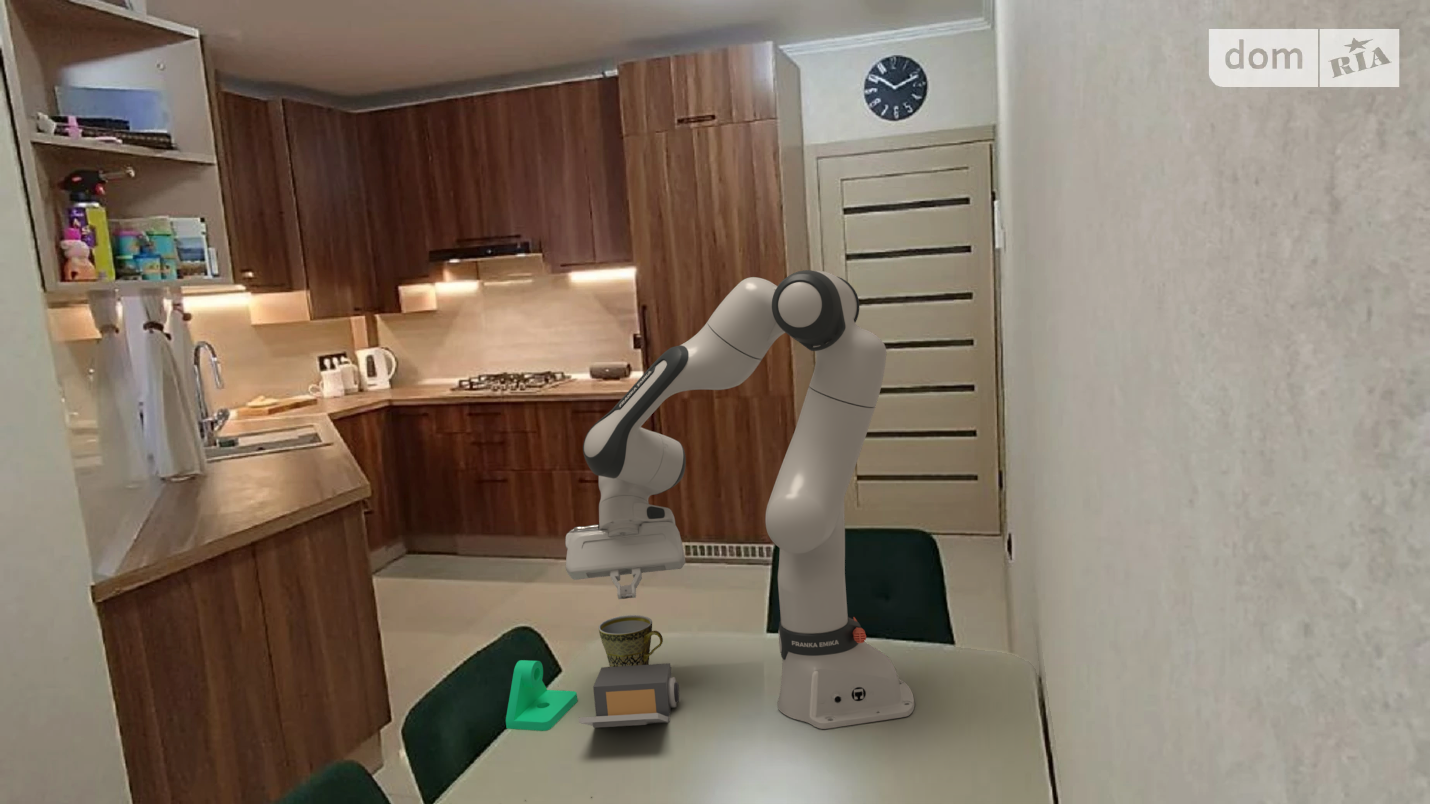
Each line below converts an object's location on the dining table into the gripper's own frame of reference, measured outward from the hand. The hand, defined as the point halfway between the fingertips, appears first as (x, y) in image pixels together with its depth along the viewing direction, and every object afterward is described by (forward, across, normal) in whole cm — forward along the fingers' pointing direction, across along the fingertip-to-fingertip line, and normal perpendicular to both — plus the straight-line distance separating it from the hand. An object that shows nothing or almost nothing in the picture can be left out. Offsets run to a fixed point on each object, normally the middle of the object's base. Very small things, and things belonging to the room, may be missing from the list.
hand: (626, 597), depth 153 cm
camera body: (+16, -1, +13) cm, 20 cm away
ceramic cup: (+6, -2, +25) cm, 26 cm away
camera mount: (+15, -17, +14) cm, 26 cm away
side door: (+18, -1, +8) cm, 20 cm away
